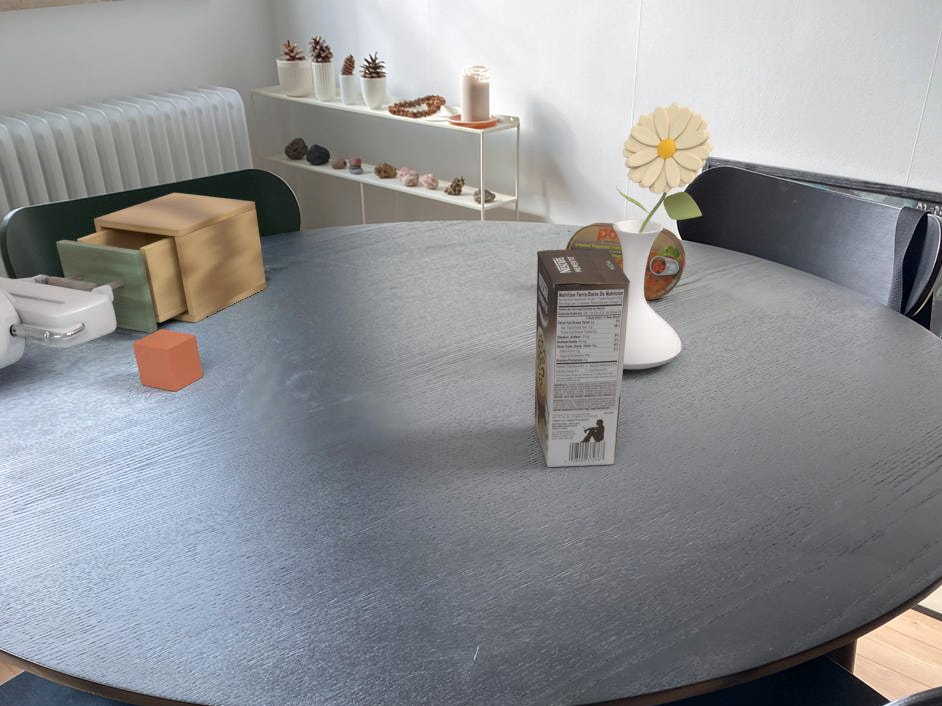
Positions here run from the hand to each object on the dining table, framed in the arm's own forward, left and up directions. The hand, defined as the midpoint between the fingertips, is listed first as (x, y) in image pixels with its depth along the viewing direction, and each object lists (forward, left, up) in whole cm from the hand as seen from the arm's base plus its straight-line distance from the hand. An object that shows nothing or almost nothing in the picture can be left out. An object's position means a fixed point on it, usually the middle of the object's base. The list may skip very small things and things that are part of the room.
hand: (78, 286), depth 108 cm
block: (+7, -15, -6) cm, 18 cm away
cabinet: (+13, +12, -6) cm, 19 cm away
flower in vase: (+54, -29, -7) cm, 62 cm away
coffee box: (+39, -45, -7) cm, 60 cm away
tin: (+64, -8, -7) cm, 65 cm away
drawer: (+6, +5, -6) cm, 10 cm away
